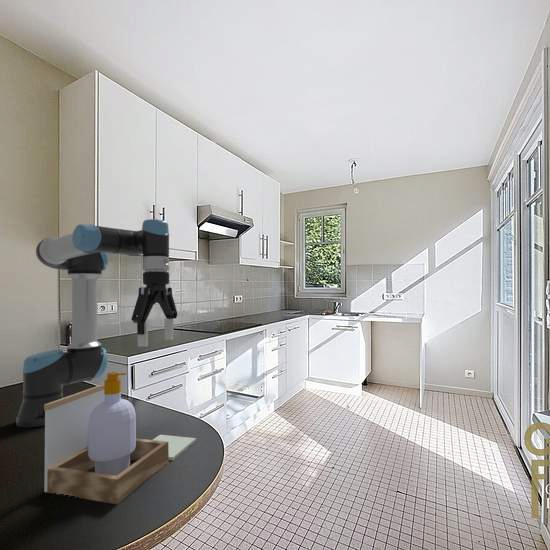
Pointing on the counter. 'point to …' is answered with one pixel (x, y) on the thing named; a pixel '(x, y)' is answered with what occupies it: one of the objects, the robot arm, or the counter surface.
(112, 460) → the soap bottle
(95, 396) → the lid
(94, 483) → the frame
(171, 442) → the trivet
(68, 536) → the counter surface
